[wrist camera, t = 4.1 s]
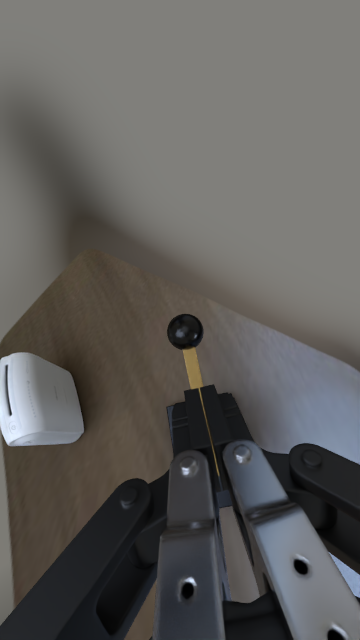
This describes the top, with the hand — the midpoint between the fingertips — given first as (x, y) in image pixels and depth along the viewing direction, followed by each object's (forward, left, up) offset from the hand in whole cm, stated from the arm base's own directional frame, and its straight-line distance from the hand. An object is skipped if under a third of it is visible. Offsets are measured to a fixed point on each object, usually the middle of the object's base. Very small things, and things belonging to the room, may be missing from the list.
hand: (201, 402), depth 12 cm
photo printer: (+19, -6, -24) cm, 31 cm away
